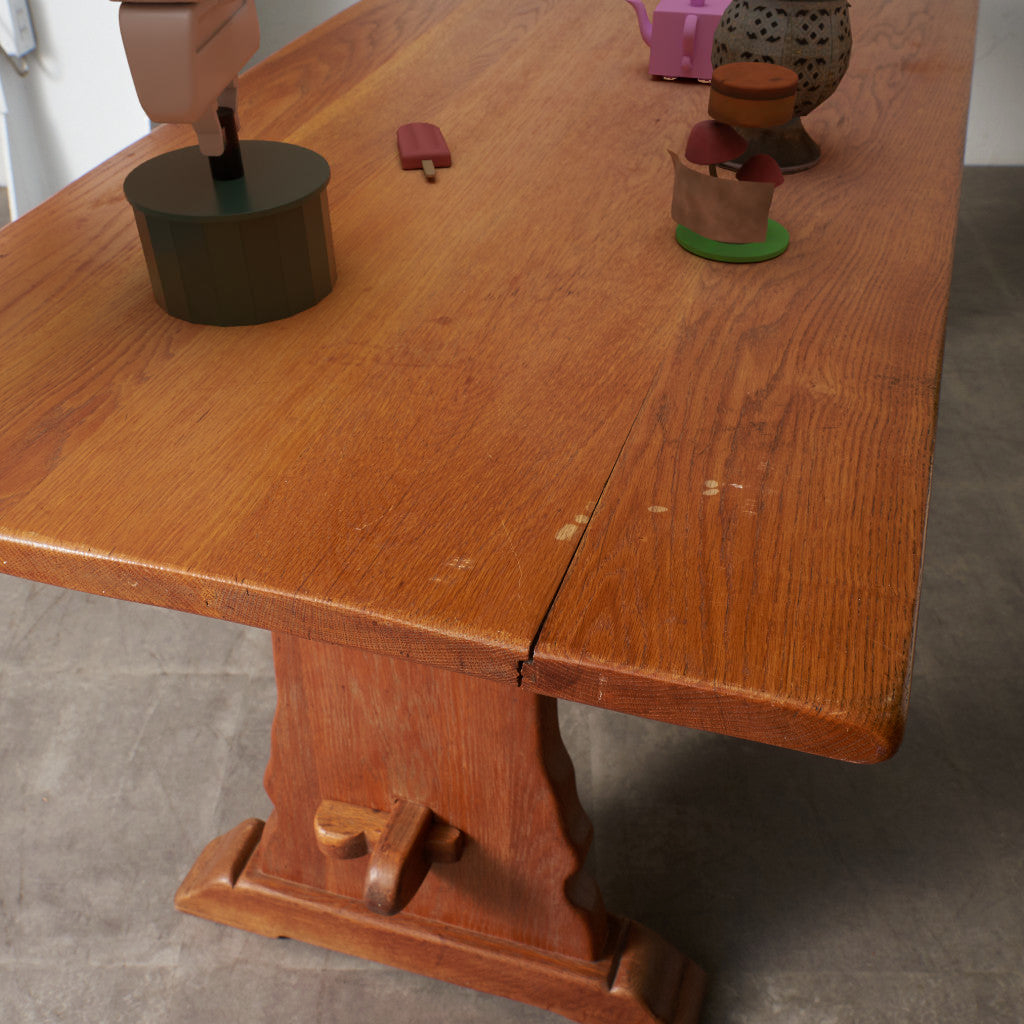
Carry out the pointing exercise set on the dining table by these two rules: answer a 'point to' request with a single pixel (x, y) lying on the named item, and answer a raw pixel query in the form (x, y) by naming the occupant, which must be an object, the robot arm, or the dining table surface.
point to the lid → (227, 180)
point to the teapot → (681, 36)
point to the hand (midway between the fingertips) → (221, 144)
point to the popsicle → (422, 147)
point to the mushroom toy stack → (744, 203)
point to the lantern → (787, 66)
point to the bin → (241, 265)
